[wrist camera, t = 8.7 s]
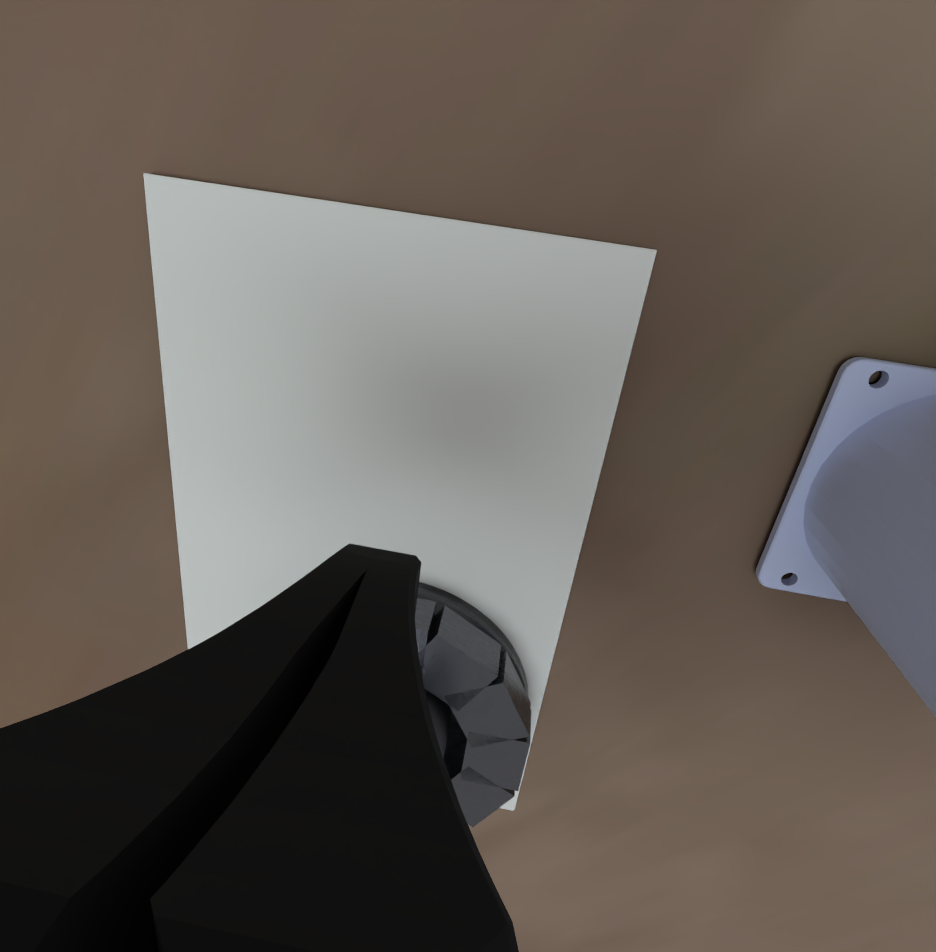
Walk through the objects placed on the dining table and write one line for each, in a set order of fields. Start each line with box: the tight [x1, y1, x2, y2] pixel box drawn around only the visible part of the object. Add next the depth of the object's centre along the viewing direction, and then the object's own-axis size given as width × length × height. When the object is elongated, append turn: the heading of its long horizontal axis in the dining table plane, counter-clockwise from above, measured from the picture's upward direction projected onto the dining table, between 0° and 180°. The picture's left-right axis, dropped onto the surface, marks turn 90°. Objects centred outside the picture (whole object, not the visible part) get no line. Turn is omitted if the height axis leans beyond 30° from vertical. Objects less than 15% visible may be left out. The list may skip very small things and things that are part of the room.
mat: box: [143, 173, 657, 811], centre depth 22 cm, size 15×24×1 cm, turn 172°
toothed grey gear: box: [415, 582, 531, 827], centre depth 23 cm, size 11×11×3 cm
